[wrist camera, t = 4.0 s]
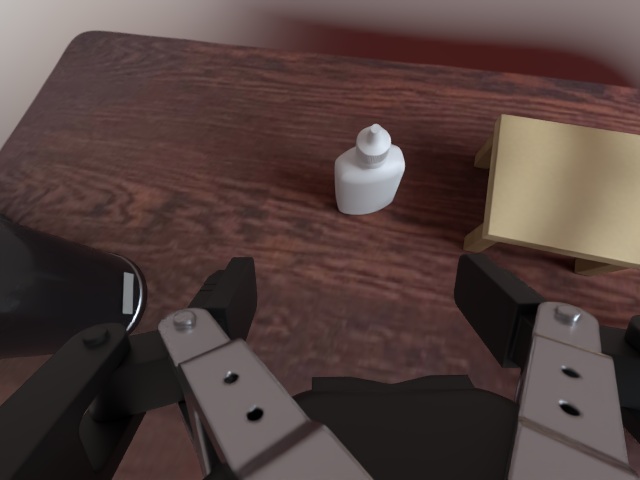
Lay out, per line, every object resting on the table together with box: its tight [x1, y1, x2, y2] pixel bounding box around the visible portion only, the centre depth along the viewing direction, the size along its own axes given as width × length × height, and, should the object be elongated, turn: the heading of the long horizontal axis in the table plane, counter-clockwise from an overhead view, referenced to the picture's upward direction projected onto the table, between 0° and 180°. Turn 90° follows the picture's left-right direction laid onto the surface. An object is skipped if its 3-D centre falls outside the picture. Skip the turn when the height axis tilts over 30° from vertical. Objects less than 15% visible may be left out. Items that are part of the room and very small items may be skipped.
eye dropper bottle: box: [335, 124, 405, 215], centre depth 27 cm, size 4×6×12 cm
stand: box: [463, 114, 640, 276], centre depth 28 cm, size 12×11×6 cm
